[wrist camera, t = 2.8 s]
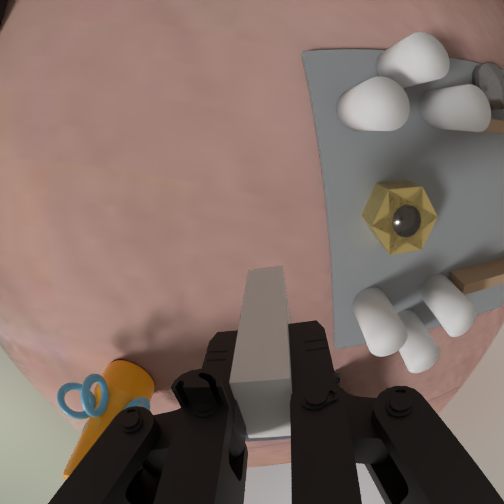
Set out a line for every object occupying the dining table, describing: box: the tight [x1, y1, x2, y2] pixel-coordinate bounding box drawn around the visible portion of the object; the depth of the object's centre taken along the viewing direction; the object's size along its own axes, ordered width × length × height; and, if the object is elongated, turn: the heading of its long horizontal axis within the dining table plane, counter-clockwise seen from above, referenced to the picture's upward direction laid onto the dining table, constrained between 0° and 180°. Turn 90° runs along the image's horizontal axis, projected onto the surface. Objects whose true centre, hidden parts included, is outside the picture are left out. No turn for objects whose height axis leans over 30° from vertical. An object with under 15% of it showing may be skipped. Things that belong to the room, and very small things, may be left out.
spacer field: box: [301, 32, 504, 373], centre depth 17 cm, size 24×20×6 cm
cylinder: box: [57, 360, 155, 480], centre depth 22 cm, size 12×10×15 cm
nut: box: [361, 180, 438, 255], centre depth 18 cm, size 4×5×2 cm
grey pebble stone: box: [472, 63, 504, 109], centre depth 14 cm, size 4×4×1 cm
